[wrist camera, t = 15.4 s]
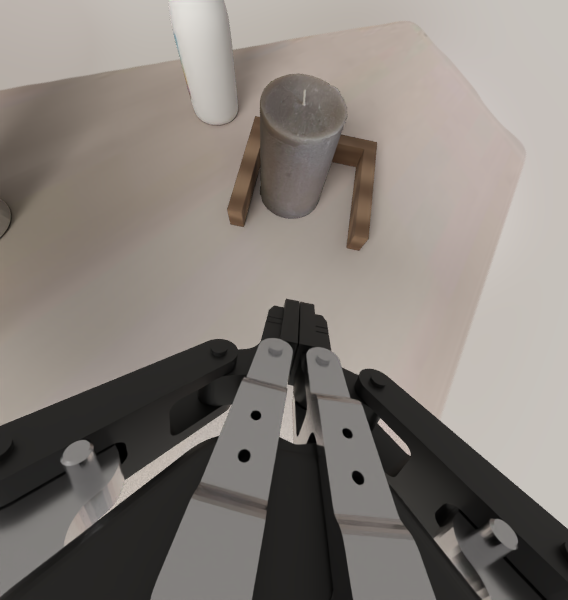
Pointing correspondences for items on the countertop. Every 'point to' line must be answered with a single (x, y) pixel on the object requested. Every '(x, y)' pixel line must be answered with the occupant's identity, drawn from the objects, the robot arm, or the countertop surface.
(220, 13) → the milk bottle
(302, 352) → the robot arm
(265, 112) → the pillar candle
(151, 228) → the countertop surface
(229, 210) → the display frame
